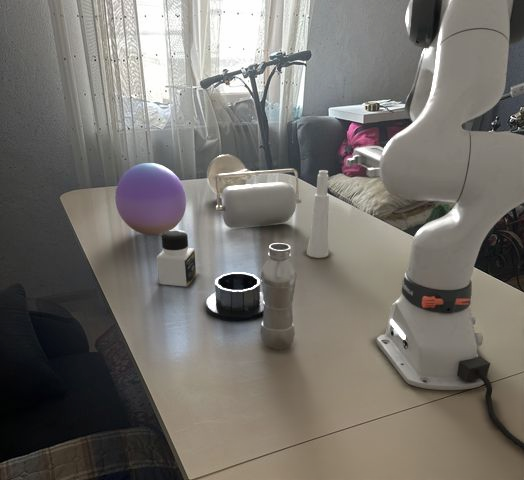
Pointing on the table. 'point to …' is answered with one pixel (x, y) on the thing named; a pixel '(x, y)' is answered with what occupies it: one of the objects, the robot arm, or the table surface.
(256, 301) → the stand
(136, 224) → the ball
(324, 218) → the cosmetic bottle
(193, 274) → the medicine bottle
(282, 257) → the plastic bottle
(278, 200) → the lamp
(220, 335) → the table surface
